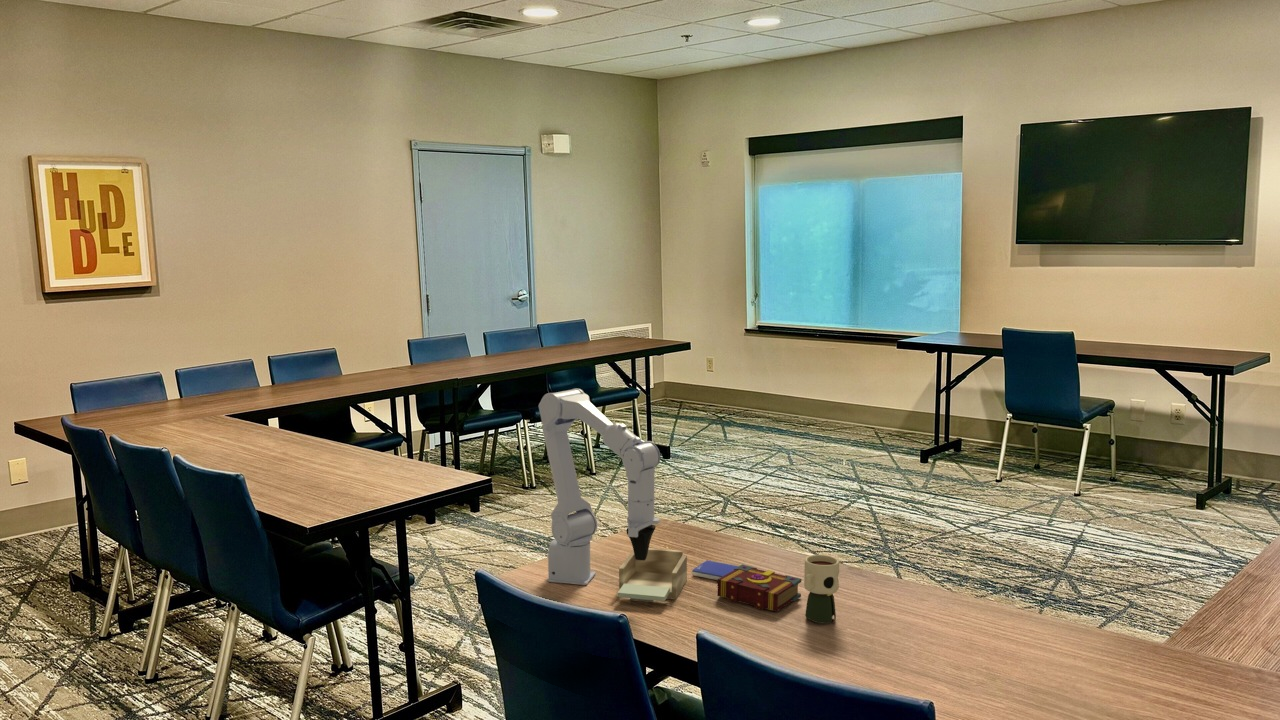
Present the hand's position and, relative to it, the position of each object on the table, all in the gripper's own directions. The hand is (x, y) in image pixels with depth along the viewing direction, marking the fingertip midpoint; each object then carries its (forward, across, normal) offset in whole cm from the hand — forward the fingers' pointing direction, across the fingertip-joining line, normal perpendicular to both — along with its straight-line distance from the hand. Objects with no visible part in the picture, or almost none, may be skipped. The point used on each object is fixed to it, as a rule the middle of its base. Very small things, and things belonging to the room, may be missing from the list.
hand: (640, 559), depth 214 cm
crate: (+10, +9, -1) cm, 13 cm away
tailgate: (+8, +2, -1) cm, 8 cm away
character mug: (+10, -1, -39) cm, 40 cm away
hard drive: (+10, +20, -15) cm, 27 cm away
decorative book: (+10, +8, -24) cm, 27 cm away
